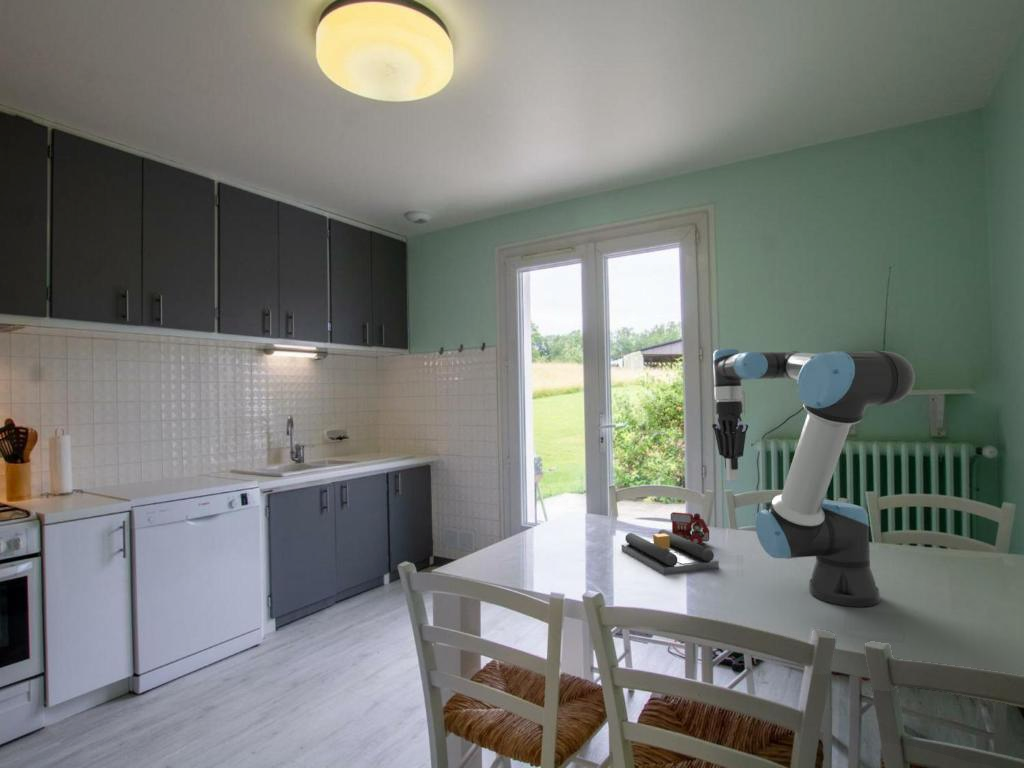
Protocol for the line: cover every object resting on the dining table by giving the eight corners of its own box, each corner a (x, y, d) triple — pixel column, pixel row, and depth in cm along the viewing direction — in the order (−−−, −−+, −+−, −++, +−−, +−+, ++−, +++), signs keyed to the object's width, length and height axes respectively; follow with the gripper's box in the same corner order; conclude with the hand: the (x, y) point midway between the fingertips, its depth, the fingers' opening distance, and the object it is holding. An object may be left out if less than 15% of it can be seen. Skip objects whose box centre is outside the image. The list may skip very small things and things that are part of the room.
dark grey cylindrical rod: (716, 562, 162) (716, 549, 162) (705, 563, 161) (705, 551, 161) (665, 538, 188) (665, 528, 188) (656, 539, 187) (655, 529, 187)
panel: (718, 567, 163) (718, 560, 163) (664, 575, 158) (663, 567, 158) (670, 544, 188) (669, 538, 188) (621, 550, 183) (621, 543, 183)
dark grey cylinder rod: (680, 566, 158) (679, 554, 159) (669, 568, 158) (668, 555, 158) (633, 542, 185) (633, 531, 185) (623, 543, 184) (623, 532, 184)
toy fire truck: (708, 548, 183) (707, 516, 183) (669, 544, 188) (668, 513, 189) (710, 543, 189) (709, 512, 189) (673, 539, 195) (672, 509, 195)
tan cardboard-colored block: (669, 548, 175) (669, 535, 175) (658, 549, 174) (658, 536, 174) (664, 545, 178) (664, 533, 178) (653, 547, 177) (653, 534, 177)
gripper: (754, 400, 161) (758, 482, 160) (723, 401, 174) (727, 477, 173) (733, 400, 159) (737, 484, 158) (703, 401, 171) (707, 478, 170)
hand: (732, 480), depth 165 cm, fingers closed
